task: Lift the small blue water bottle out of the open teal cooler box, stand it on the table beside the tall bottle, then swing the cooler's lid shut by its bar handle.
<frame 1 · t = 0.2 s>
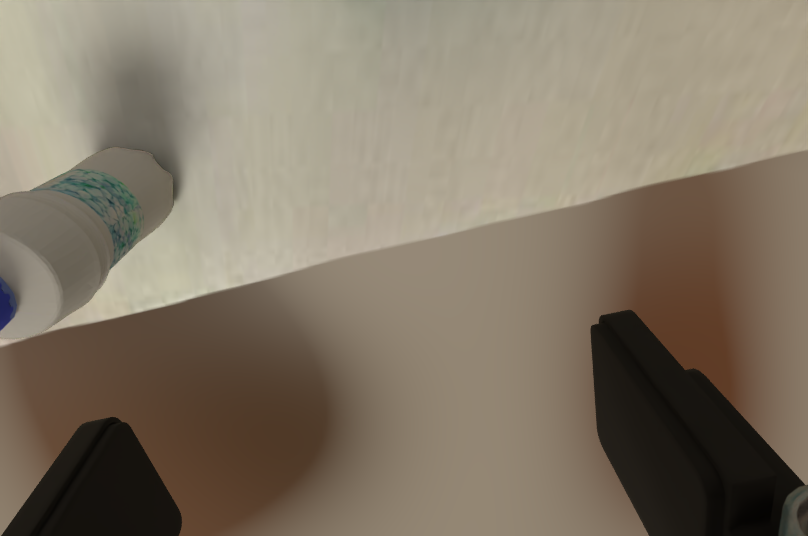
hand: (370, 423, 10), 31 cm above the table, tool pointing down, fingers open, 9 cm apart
bottle: (139, 182, 39), on the table
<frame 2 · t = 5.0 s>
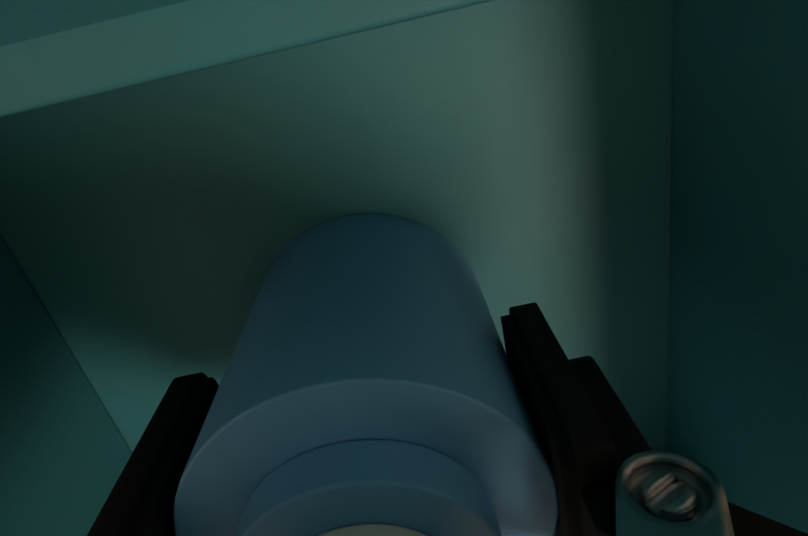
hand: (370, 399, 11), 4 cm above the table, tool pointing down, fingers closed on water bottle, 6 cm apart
cooler: (371, 300, 15), on the table
water bottle: (371, 318, 14), point 1 cm above the table, touching cooler, gripper
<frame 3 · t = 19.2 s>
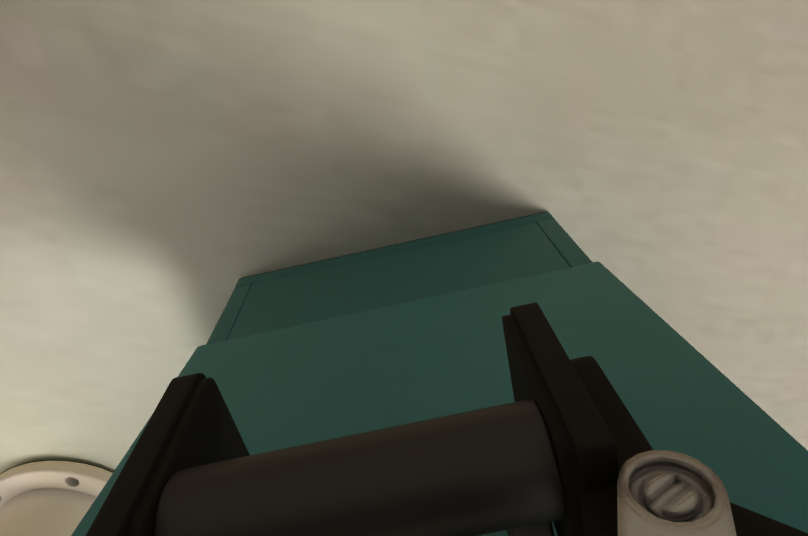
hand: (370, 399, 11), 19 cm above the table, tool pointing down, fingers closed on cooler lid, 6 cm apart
cooler lid: (385, 376, 14), point 16 cm above the table, hinge at 95.0°, touching gripper
cooler: (419, 357, 33), on the table
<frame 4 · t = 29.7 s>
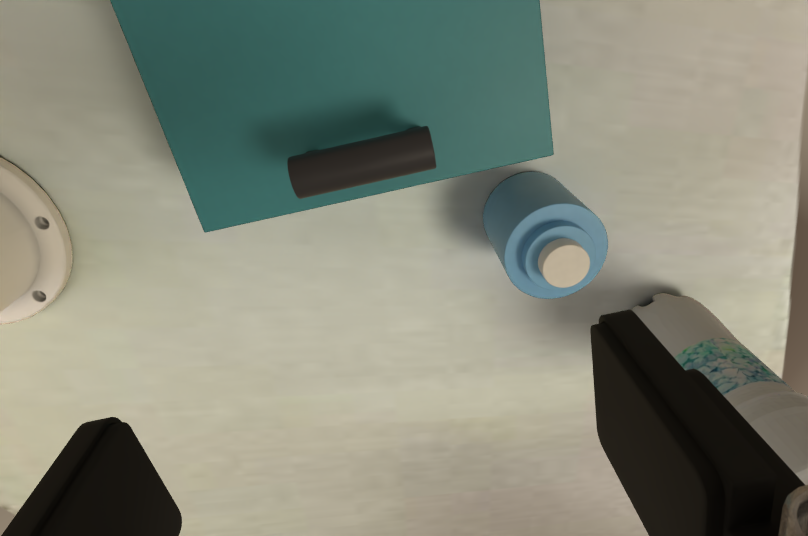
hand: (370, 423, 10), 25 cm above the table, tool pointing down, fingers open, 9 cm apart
cooler lid: (328, 11, 21), point 10 cm above the table, hinge at 0.9°
water bottle: (526, 214, 36), on the table
bottle: (655, 319, 40), on the table
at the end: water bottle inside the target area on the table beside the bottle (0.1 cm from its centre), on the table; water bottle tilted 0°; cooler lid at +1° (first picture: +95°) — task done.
